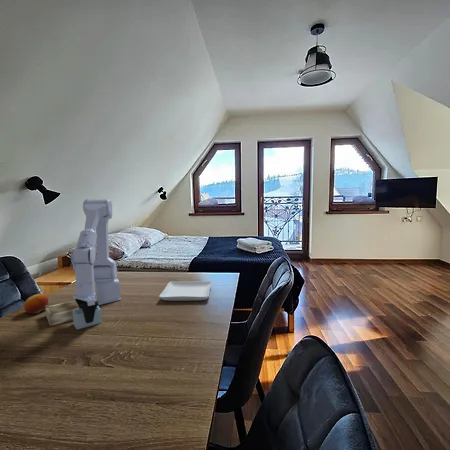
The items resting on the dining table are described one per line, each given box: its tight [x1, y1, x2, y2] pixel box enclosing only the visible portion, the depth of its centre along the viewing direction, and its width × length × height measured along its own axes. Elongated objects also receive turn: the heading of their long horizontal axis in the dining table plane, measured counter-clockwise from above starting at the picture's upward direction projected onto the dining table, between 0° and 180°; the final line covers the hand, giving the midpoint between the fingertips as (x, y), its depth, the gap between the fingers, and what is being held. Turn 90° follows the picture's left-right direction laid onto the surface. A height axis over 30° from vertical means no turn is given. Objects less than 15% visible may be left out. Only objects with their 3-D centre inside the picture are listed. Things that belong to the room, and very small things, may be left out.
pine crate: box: [45, 300, 79, 326], centre depth 104 cm, size 14×11×4 cm
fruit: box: [23, 293, 49, 315], centre depth 108 cm, size 8×8×8 cm
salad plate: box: [158, 280, 213, 302], centre depth 125 cm, size 21×21×3 cm
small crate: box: [72, 305, 103, 330], centre depth 97 cm, size 8×5×5 cm
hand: (87, 319), depth 97 cm, fingers closed on small crate, 5 cm apart
